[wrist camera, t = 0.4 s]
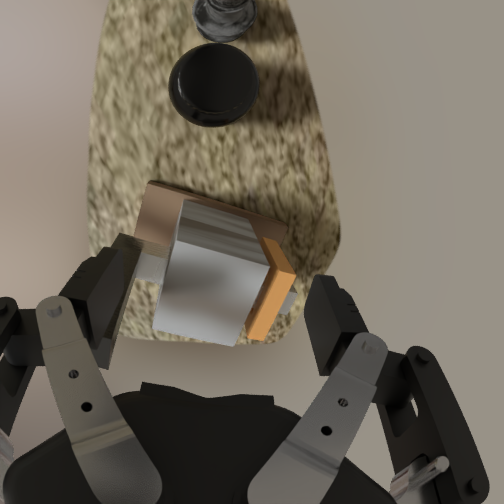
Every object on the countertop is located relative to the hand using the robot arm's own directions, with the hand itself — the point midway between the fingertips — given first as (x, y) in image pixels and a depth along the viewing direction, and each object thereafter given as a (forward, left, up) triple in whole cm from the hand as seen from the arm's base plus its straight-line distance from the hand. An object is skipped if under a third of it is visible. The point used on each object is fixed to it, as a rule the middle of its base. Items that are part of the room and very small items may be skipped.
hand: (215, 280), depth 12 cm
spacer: (+6, +7, -16) cm, 19 cm away
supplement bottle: (-9, -3, -21) cm, 23 cm away
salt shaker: (-17, -5, -21) cm, 27 cm away
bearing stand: (+6, +2, -21) cm, 22 cm away
